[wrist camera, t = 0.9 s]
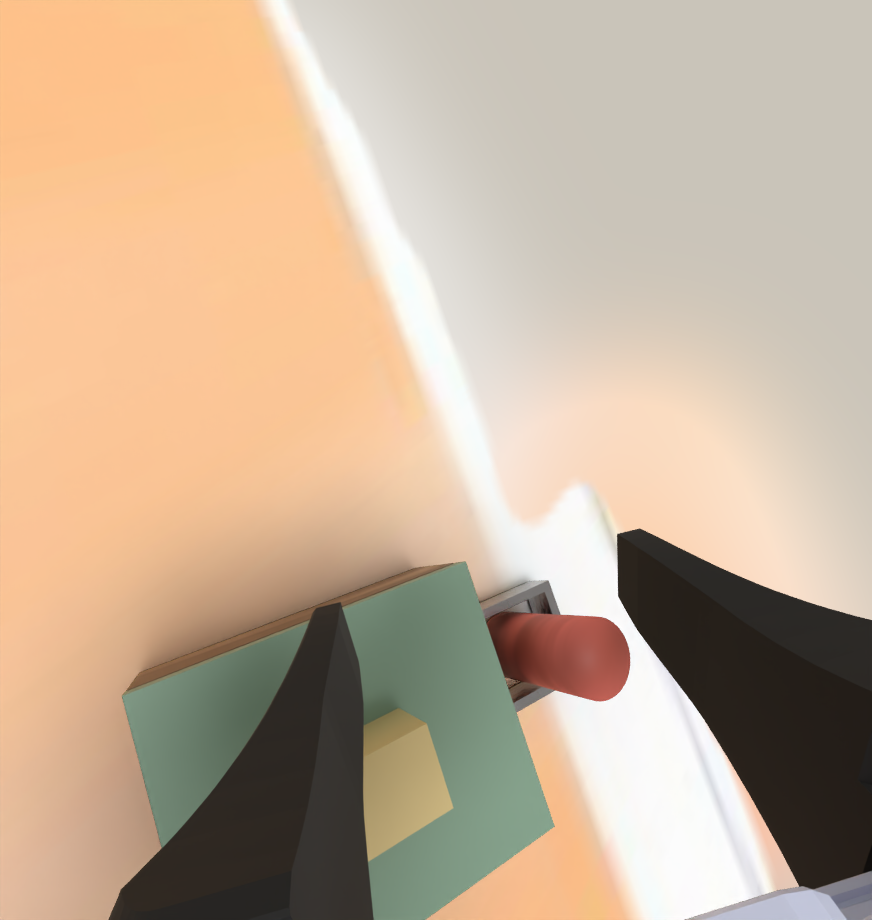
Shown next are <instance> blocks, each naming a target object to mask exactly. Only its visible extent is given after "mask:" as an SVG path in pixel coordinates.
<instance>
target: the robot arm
mask: <svg viewBox="0 0 872 920" xmlns="http://www.w3.org/2000/svg"><path fill="white" fill-rule="evenodd" d="M617 550H618V597H619V599H620V600H621V602H622V604H623V606H624V608H625V609H626V611H627V613H628V615H629V617H630V618H631V620H632V622H633V623H634V625H635V627H636V628H637V630H638V631H639V633H640V634H641V636H642V637H643V638H644V640H645V641H646V642H647V644H648V645H649V646H650V648H651V649H652V650H653V652H654V653H655V654H656V656H657V657H658V658H659V660H660V661H661V662H662V663H663V665H664V666H665V667H666V669H667V670H668V671H669V673H670V674H671V675H672V677H673V678H674V679H675V681H676V682H677V683H678V684H679V686H680V687H681V688H682V690H683V691H684V692H685V694H686V695H687V696H688V698H689V699H690V700H691V701H692V703H693V704H694V706H695V707H696V709H697V710H698V711H699V713H700V714H701V716H702V717H703V719H704V720H705V722H706V723H707V725H708V726H709V728H710V730H711V731H712V733H713V735H714V736H715V738H716V739H717V741H718V743H719V744H720V746H721V747H722V749H723V751H724V752H725V754H726V755H727V757H728V759H729V761H730V762H731V764H732V766H733V767H734V769H735V771H736V772H737V774H738V776H739V778H740V779H741V781H742V783H743V784H744V786H745V788H746V789H747V791H748V792H749V794H750V796H751V798H752V800H753V801H754V803H755V805H756V807H757V809H758V810H759V812H760V814H761V816H762V817H763V819H764V821H765V823H766V825H767V827H768V828H769V830H770V832H771V834H772V836H773V837H774V839H775V841H776V843H777V845H778V846H779V848H780V850H781V852H782V854H783V856H784V858H785V860H786V862H787V864H788V865H789V867H790V869H791V871H792V873H793V875H794V877H795V879H796V881H797V883H798V885H799V887H795V888H790V889H784V890H777V891H774V892H771V893H768V894H765V895H761V896H758V897H755V898H752V899H749V900H746V901H742V902H739V903H736V904H733V905H730V906H727V907H723V908H720V909H717V910H714V911H711V912H708V913H704V914H701V915H698V916H695V917H692V918H689V919H685V920H872V620H869V619H865V618H860V617H857V616H853V615H850V614H846V613H843V612H839V611H835V610H832V609H828V608H825V607H822V606H818V605H815V604H812V603H809V602H806V601H803V600H800V599H797V598H794V597H791V596H788V595H786V594H783V593H780V592H777V591H774V590H772V589H769V588H766V587H764V586H761V585H759V584H756V583H754V582H752V581H749V580H747V579H744V578H742V577H740V576H737V575H735V574H733V573H731V572H728V571H726V570H724V569H722V568H719V567H717V566H715V565H713V564H711V563H709V562H707V561H705V560H702V559H701V558H698V557H696V556H694V555H692V554H690V553H688V552H686V551H684V550H682V549H680V548H678V547H676V546H674V545H672V544H670V543H668V542H666V541H664V540H662V539H660V538H658V537H656V536H654V535H652V534H650V533H648V532H646V531H644V530H641V529H637V530H632V531H628V532H624V533H620V534H617ZM363 748H364V702H363V692H362V683H361V674H360V665H359V660H358V657H357V654H356V651H355V647H354V644H353V641H352V638H351V634H350V631H349V628H348V625H347V621H346V618H345V615H344V612H343V608H342V605H341V602H338V603H334V604H330V605H326V606H322V607H318V608H316V609H315V610H314V611H313V613H312V616H311V618H310V621H309V624H308V626H307V629H306V631H305V634H304V636H303V639H302V641H301V643H300V646H299V648H298V650H297V652H296V655H295V657H294V659H293V661H292V663H291V665H290V667H289V669H288V671H287V674H286V676H285V678H284V680H283V682H282V684H281V685H280V687H279V689H278V691H277V693H276V695H275V696H274V698H273V700H272V702H271V704H270V706H269V708H268V709H267V711H266V713H265V715H264V716H263V718H262V720H261V721H260V723H259V725H258V726H257V728H256V729H255V731H254V733H253V734H252V736H251V737H250V739H249V740H248V742H247V743H246V745H245V746H244V748H243V749H242V751H241V752H240V754H239V755H238V756H237V758H236V759H235V761H234V762H233V763H232V765H231V766H230V768H229V769H228V770H227V772H226V773H225V775H224V776H223V777H222V779H221V780H220V781H219V782H218V784H217V785H216V786H215V788H214V789H213V790H212V792H211V793H210V794H209V795H208V797H207V798H206V799H205V800H204V801H203V802H202V804H201V805H200V806H199V807H198V808H197V810H196V811H195V812H194V813H193V814H192V816H191V817H190V818H189V819H188V820H187V821H186V823H185V824H184V825H183V826H182V827H181V828H180V829H179V830H178V832H177V833H176V834H175V835H174V836H173V837H172V838H171V839H170V840H169V841H168V842H167V844H166V845H165V846H164V847H163V848H162V849H161V850H160V851H159V852H158V853H157V854H156V855H155V856H154V857H153V858H152V859H151V860H150V861H149V862H148V863H147V864H146V865H145V866H144V867H143V868H142V869H141V870H140V871H139V872H138V873H137V874H136V875H135V876H134V877H133V878H132V879H131V880H130V881H129V882H128V883H127V884H126V885H125V886H124V887H123V888H122V889H121V891H120V893H119V896H118V899H117V901H116V903H115V906H114V908H113V910H112V913H111V915H110V917H109V920H374V917H373V908H372V897H371V887H370V877H369V866H368V855H367V844H366V832H365V821H364V801H363Z"/></svg>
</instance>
